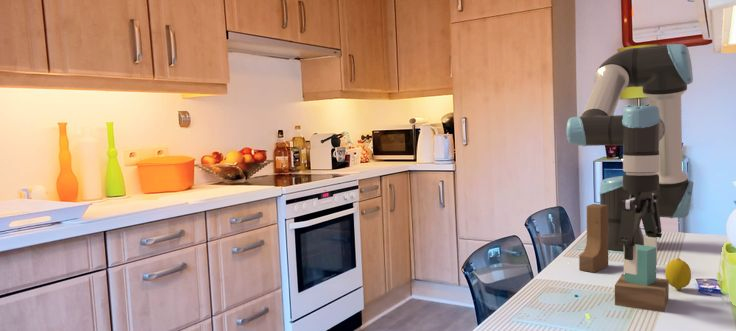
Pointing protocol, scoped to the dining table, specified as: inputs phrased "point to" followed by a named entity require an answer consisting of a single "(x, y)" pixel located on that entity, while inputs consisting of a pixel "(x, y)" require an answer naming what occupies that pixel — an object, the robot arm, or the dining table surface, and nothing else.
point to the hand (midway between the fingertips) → (640, 268)
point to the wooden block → (595, 239)
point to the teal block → (644, 266)
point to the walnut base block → (642, 294)
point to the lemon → (678, 273)
